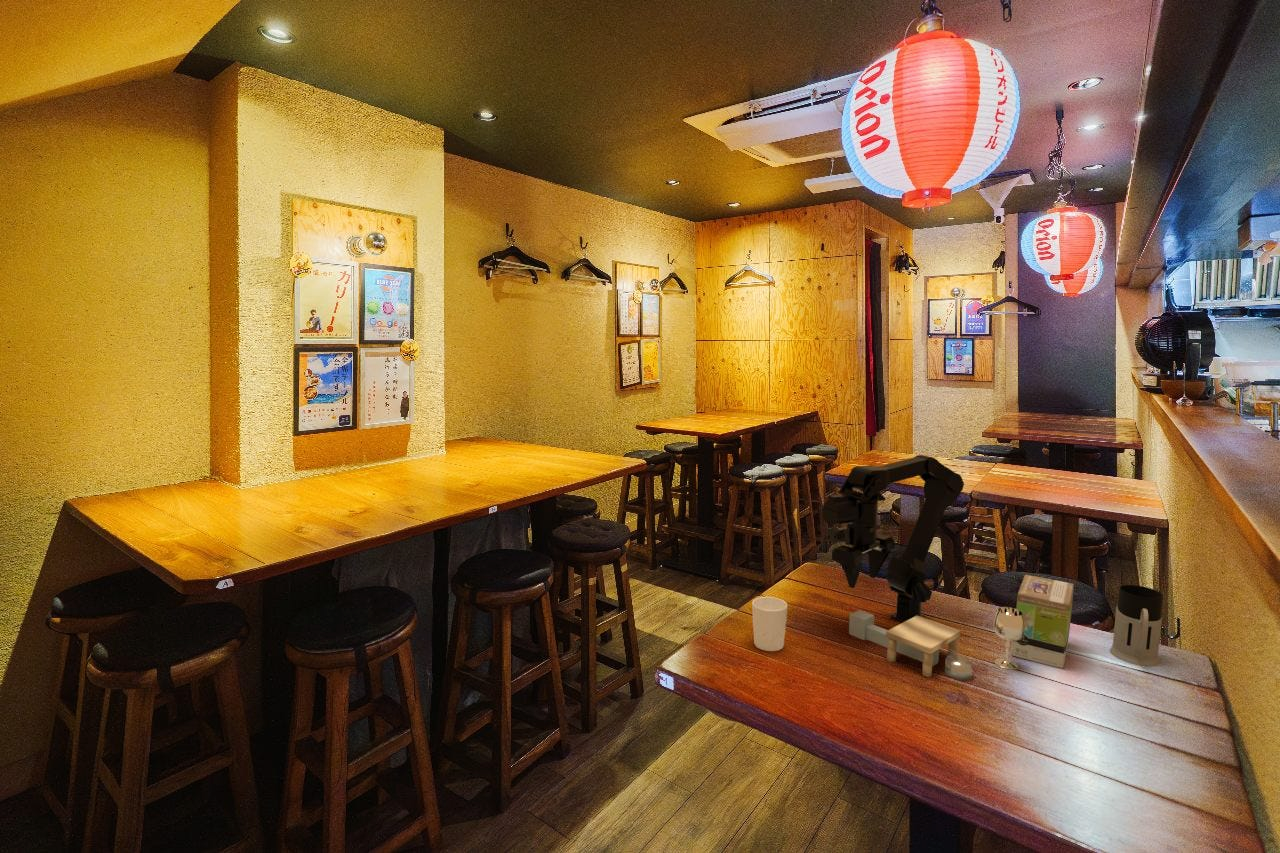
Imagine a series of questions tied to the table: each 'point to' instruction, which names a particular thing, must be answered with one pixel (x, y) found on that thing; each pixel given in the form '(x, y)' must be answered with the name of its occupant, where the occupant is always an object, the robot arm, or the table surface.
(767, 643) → the white cup
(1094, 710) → the table surface
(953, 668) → the steel puck
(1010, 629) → the wineglass
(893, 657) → the hinoki shelf
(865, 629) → the gray hammer
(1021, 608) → the tea box
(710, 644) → the table surface
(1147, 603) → the glass holder
